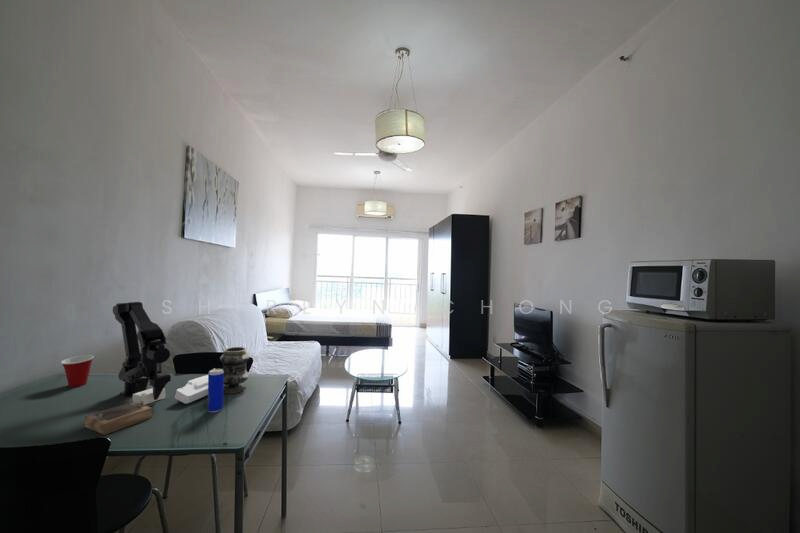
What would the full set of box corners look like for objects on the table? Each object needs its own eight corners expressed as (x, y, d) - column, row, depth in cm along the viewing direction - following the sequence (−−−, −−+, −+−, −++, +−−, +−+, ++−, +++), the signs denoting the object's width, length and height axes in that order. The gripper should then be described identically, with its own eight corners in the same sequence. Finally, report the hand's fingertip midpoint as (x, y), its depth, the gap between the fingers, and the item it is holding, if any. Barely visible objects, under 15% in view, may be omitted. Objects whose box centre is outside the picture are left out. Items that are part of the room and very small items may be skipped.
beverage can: (211, 407, 131) (212, 368, 131) (225, 407, 132) (226, 368, 132) (204, 413, 126) (205, 372, 126) (219, 412, 127) (220, 372, 127)
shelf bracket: (212, 375, 160) (233, 385, 157) (161, 393, 136) (185, 406, 133) (215, 364, 160) (236, 374, 156) (165, 380, 136) (188, 393, 132)
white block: (132, 404, 133) (132, 393, 133) (156, 396, 142) (156, 386, 142) (141, 406, 131) (142, 395, 131) (165, 398, 140) (165, 388, 140)
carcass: (84, 426, 114) (85, 410, 114) (132, 411, 127) (132, 396, 127) (104, 434, 109) (104, 418, 109) (151, 417, 122) (152, 402, 122)
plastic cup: (53, 387, 148) (54, 360, 148) (82, 379, 159) (83, 354, 159) (71, 390, 145) (71, 362, 145) (99, 382, 156) (100, 356, 156)
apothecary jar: (245, 393, 146) (247, 351, 146) (215, 395, 143) (216, 352, 143) (251, 384, 158) (251, 345, 158) (222, 385, 155) (223, 346, 155)
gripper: (113, 360, 133) (112, 400, 133) (141, 367, 125) (140, 409, 125) (144, 354, 143) (143, 391, 143) (172, 359, 135) (171, 399, 135)
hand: (148, 397), depth 136 cm, fingers open, 9 cm apart
